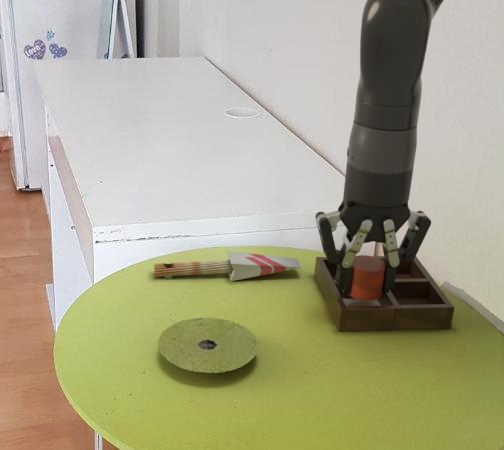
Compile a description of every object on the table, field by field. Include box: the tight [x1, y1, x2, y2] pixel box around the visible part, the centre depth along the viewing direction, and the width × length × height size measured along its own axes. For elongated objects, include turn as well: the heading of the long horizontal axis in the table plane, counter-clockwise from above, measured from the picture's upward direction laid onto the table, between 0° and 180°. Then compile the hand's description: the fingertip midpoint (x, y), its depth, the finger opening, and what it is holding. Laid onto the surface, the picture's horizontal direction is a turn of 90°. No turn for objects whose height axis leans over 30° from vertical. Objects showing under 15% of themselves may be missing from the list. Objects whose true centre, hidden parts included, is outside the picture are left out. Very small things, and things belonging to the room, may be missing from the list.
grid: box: [313, 255, 455, 332], centre depth 97 cm, size 14×14×3 cm
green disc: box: [157, 317, 259, 374], centre depth 85 cm, size 11×11×2 cm
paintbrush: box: [153, 250, 302, 282], centre depth 103 cm, size 4×3×20 cm
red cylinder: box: [348, 254, 386, 301], centre depth 93 cm, size 4×4×4 cm
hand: (364, 289), depth 93 cm, fingers closed on red cylinder, 4 cm apart
